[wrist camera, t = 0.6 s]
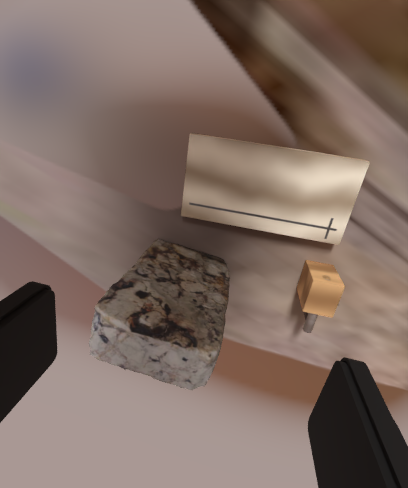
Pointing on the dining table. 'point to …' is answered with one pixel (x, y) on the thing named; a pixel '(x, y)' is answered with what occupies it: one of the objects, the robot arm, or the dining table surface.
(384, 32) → the dining table surface
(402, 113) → the dining table surface
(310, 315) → the marking gauge
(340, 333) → the dining table surface
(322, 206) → the birch board
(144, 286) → the stone block
